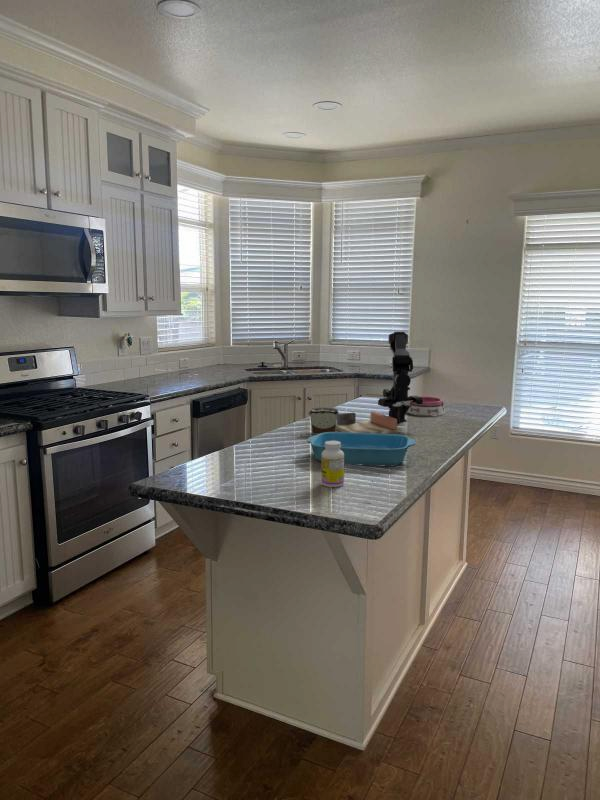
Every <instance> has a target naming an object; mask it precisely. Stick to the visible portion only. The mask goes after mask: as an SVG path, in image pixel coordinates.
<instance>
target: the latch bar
mask: <svg viewBox="0 0 600 800" xmlns="http://www.w3.org/2000/svg"><path fill="white" fill-rule="evenodd" d="M369 421H370V422H373V423H376V424H379V425H381V426H384V427H387V428H390V429H397V427H398V422H397V419H396V418H393V417H389V415H386V414H384V413H379V412H377V411H370V420H369Z"/></svg>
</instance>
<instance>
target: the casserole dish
mask: <svg viewBox="0 0 600 800" xmlns="http://www.w3.org/2000/svg"><path fill="white" fill-rule="evenodd" d="M326 441H339V442H341V447H340V450H342V451H343V453H344V465H349V464H362V465H361V466H368V465H385V466H384V467H392V466H391V465H395V466H398V465H400V464H401V463H402V462H403V461H404V460H405V457H406V455H407V452H408V449H409V448H410V447H414V446H415V445H416V441H415V439H413V438H410V437H409V436H407V435H405V434H404V435H403V434H398V433H391V434H377V433H353V432H341V431H335V432H325V433H320V434H314V435H312V436H309V437H307V440H306V442H307V444H308V443H309V444H310V445H311V449H312V452H313V453H314V457H315V459H316V460H318V461H319V462H321V460H322V458H321V456H322V452H323V451H324V450H326V448H325V442H326ZM397 464H398V465H397Z"/></svg>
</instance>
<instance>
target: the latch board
mask: <svg viewBox="0 0 600 800" xmlns="http://www.w3.org/2000/svg"><path fill="white" fill-rule="evenodd" d="M356 415H357V414H356V412H344V413H339V415H338V414H337V423H336V430H337V431H338V432H353V433H377V434H398V433H399V432H400V433H403V428H402V427H399V426H397V429H390V428H387V427H384V426H381V425H379V424H376V423H373V422H370V420H362V421H356V420H357V419H356Z"/></svg>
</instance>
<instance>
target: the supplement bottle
mask: <svg viewBox="0 0 600 800" xmlns="http://www.w3.org/2000/svg"><path fill="white" fill-rule="evenodd" d="M340 447H341V442H339V441H326V442H325V448H326V450H324V451H323V452H322V456H321V458H322V460H321V461H320V462H321V466H320V467H321V477H320V479H321V480H320V481H321V482H320V483H321V484H322V486H323V485H324V487H326V486H327V487H326V488H332V487H334V488H340V487H342V486H343V485H344V484H345V464H344V453H343V451H342V450H340ZM339 486H340V487H339Z"/></svg>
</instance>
